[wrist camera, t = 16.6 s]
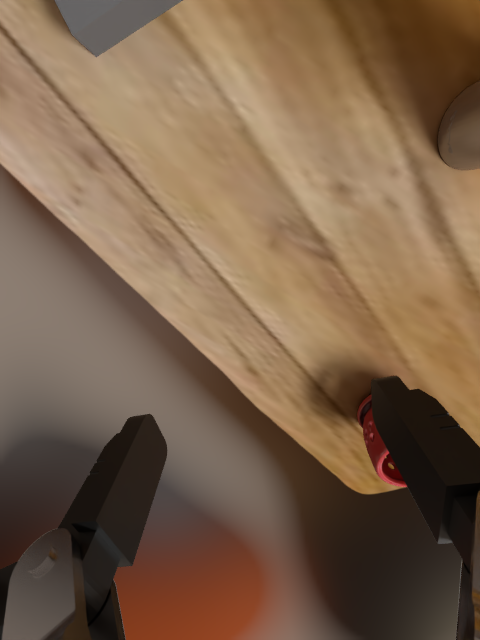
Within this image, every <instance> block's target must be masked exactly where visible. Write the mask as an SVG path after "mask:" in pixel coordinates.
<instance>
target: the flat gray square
mask: <svg viewBox="0 0 480 640" xmlns="http://www.w3.org/2000/svg"><path fill="white" fill-rule="evenodd" d="M181 1H182V0H55V2H56V4H57V6H58V8H59V10H60V12H61V14H62V16H63V18H64V20H65V22H66V24H67V26H68V28H69V30H70V32H71V34H72V36H74V37H75V38H76V39H77V40H78V41H79V42H80V43H81V44H82V45H84V46H85V47H86V48H87V49H88V50H89V51H90V52H91V53H92V54H93V55H95V56H96V57H97V56H99V55H100V54H102V53H104V52H105V51H107V50H108V49H110V48H111V47H113V46H114V45H116V44H117V43H119V42H120V41H122V40H123V39H125V38H126V37H128V36H129V35H131V34H132V33H134V32H135V31H137V30H138V29H140V28H141V27H143V26H144V25H146V24H147V23H149V22H150V21H152V20H154V19H155V18H157V17H158V16H160V15H161V14H163V13H164V12H166V11H167V10H169V9H170V8H172V7H173V6H175V5H176V4H178V3H179V2H181Z"/></svg>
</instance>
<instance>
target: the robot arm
mask: <svg viewBox="0 0 480 640" xmlns="http://www.w3.org/2000/svg"><path fill="white" fill-rule="evenodd" d="M438 148H439V152H440V155H441V157H442V158H443V160H444V161H445V162H446V163H447V164H448V165H449V166H450V167H452V168H454V169H458V170H473V169H480V81H478V82H476V83H474V84H472V85H471V86H469V87H468V88H467V89H465V90H464V91H462V92H461V93H460V94H459V95H458V96H457V97H456V99H455V100H454V101H453V102H452V104H451V105H450V106H449V108H448V109H447V111H446V113H445V115H444V117H443V119H442V122H441V125H440V128H439V134H438ZM371 398H372V416H373V420H374V423H375V426H376V429H377V431H378V433H379V435H380V437H381V439H382V440H383V442H384V444H385V446H386V448H387V450H388V452H389V453H390V455H391V457H392V459H393V461H394V463H395V465H396V467H397V468H398V470H399V472H400V474H401V476H402V478H403V480H404V482H405V483H406V485H407V487H408V489H409V491H410V493H411V495H412V496H413V498H414V500H415V502H416V504H417V506H418V508H419V510H420V511H421V513H422V515H423V517H424V519H425V521H426V523H427V524H428V526H429V528H430V530H431V532H432V534H433V536H434V538H435V539H436V541H437V543H438V544H443V543H453V544H454V546H455V547H456V549H457V551H458V552H459V554H460V556H461V558H462V565H461V578H460V591H459V604H458V617H457V630H456V640H480V447H479V446H478V445H477V444H476V443H475V442H474V441H473V439H472V438H471V437H470V436H469V435H468V434H467V433H466V432H465V431H464V429H463V428H460V426H459V424H458V423H457V422H456V421H455V420H454V418H453V417H452V416H450V415H449V413H448V412H447V411H446V410H445V408H444V407H443V406H442V405H441V404H440V403H439V402H438V401H437V400H436V399H435V398H433V397H432V396H430V395H428V394H427V393H425V392H423V391H422V390H420V389H414V390H409V389H408V388H407V387H406V386H405V384H404V383H403V382H402V381H401V379H400V378H399V377H398V376H390V377H384V378H377V379H372V381H371ZM166 457H167V445H166V441H165V439H164V437H163V435H162V433H161V431H160V429H159V427H158V425H157V423H156V421H155V419H154V417H153V416H152V415H151V414H147V415H140V416H133V417H130V418H128V419H127V421H126V423H125V425H124V426H123V428H122V430H121V432H120V433H118V434H116V435H115V436H114V437H113V438H112V439H111V440H110V441H109V442H108V444H107V445H106V446H105V447H104V449H103V451H102V452H101V454H100V456H99V458H98V459H97V463H95V464H94V466H93V468H92V470H91V471H90V475H89V476H88V477H87V478H86V480H85V482H84V484H83V485H82V487H81V489H80V491H79V492H78V494H77V496H76V498H75V499H74V501H73V503H72V505H71V506H70V508H69V510H68V512H67V514H66V515H65V517H64V518H63V520H62V522H61V524H60V525H59V527H58V528H57V529H54V530H51V531H50V532H48V533H46V534H44V535H43V536H41V537H40V538H39V539H38V540H36V541H35V542H34V543H33V544H32V545H31V546H30V547H29V548H28V549H27V550H26V552H25V553H24V554H23V555H22V557H21V558H20V559H19V561H18V562H15V563H13V564H11V565H9V566H7V567H5V568H3V569H0V640H126V639H125V634H124V628H123V622H122V616H121V611H120V606H119V600H118V594H117V589H116V584H115V582H114V580H113V578H114V575H115V572H116V569H117V567H123V566H132V565H133V562H134V559H135V556H136V553H137V549H138V546H139V543H140V540H141V537H142V533H143V530H144V527H145V524H146V521H147V518H148V515H149V511H150V508H151V505H152V502H153V499H154V496H155V492H156V489H157V486H158V483H159V480H160V477H161V473H162V470H163V467H164V464H165V461H166Z"/></svg>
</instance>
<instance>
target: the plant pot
mask: <svg viewBox="0 0 480 640" xmlns="http://www.w3.org/2000/svg"><path fill="white" fill-rule="evenodd" d="M357 418H358V422H359V424H360V426H361V427H362V428H363V435H364V440H365V444H366V448H367V451H368V454H369V456H370V459H371V461H372V464H373V466H374V468H375V471H376V473H377V474H378V476H379V477H380V478H381V479H382V480H384V481H385V482H387V483H389V484H392V485H395V486H401V487H407V485H406V483H405V482H404V480H403V478H402V476H401V474H400V472H399V470H398V468H397V467H396V465H395V463H394V461H393V459H392V457H391V455H390V453H389V452H388V450H387V448H386V446H385V444H384V442H383V440H382V439H381V437H380V435H379V433H378V431H377V429H376V426H375V423H374V420H373V416H372V398H371V395H369V396H368V397H367V398H366V399H364V401H363V402H362V403H361V405H360V406H359V409H358V414H357ZM385 457H387V458H385ZM388 463H390V464H392V465H393V466H394V469H391V468H389V466H388Z"/></svg>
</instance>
